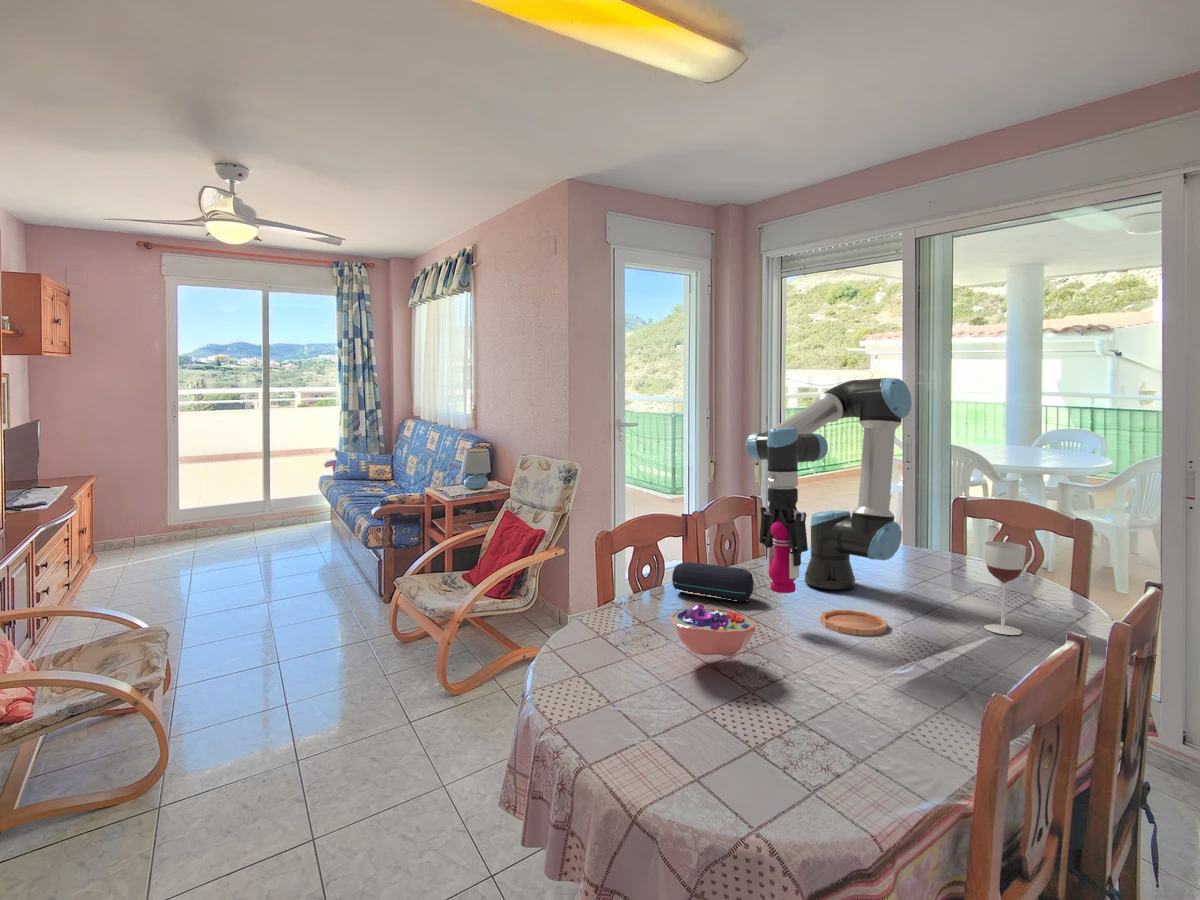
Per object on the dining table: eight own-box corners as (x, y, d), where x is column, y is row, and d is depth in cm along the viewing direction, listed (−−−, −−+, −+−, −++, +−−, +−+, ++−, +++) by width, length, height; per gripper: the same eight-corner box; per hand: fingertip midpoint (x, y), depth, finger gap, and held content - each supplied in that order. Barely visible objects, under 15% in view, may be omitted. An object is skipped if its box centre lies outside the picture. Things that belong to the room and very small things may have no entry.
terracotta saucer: (808, 621, 167) (808, 615, 167) (847, 611, 175) (847, 606, 174) (859, 639, 153) (859, 633, 153) (899, 628, 161) (899, 622, 161)
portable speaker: (758, 599, 188) (758, 566, 187) (747, 608, 179) (747, 574, 179) (682, 588, 201) (682, 557, 200) (669, 595, 192) (668, 564, 192)
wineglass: (1016, 625, 163) (1019, 542, 161) (1028, 637, 153) (1031, 549, 152) (978, 621, 165) (980, 540, 164) (988, 633, 156) (990, 547, 155)
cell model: (741, 675, 132) (741, 623, 131) (657, 657, 143) (657, 608, 142) (765, 650, 146) (765, 603, 146) (687, 635, 157) (687, 591, 156)
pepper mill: (798, 594, 157) (798, 516, 156) (769, 593, 159) (769, 516, 157) (795, 586, 164) (795, 512, 163) (767, 585, 166) (767, 511, 164)
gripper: (744, 484, 167) (745, 568, 168) (802, 492, 149) (802, 585, 151) (765, 482, 170) (765, 564, 172) (823, 489, 153) (823, 580, 154)
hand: (782, 574), depth 161 cm, fingers closed on pepper mill, 7 cm apart
